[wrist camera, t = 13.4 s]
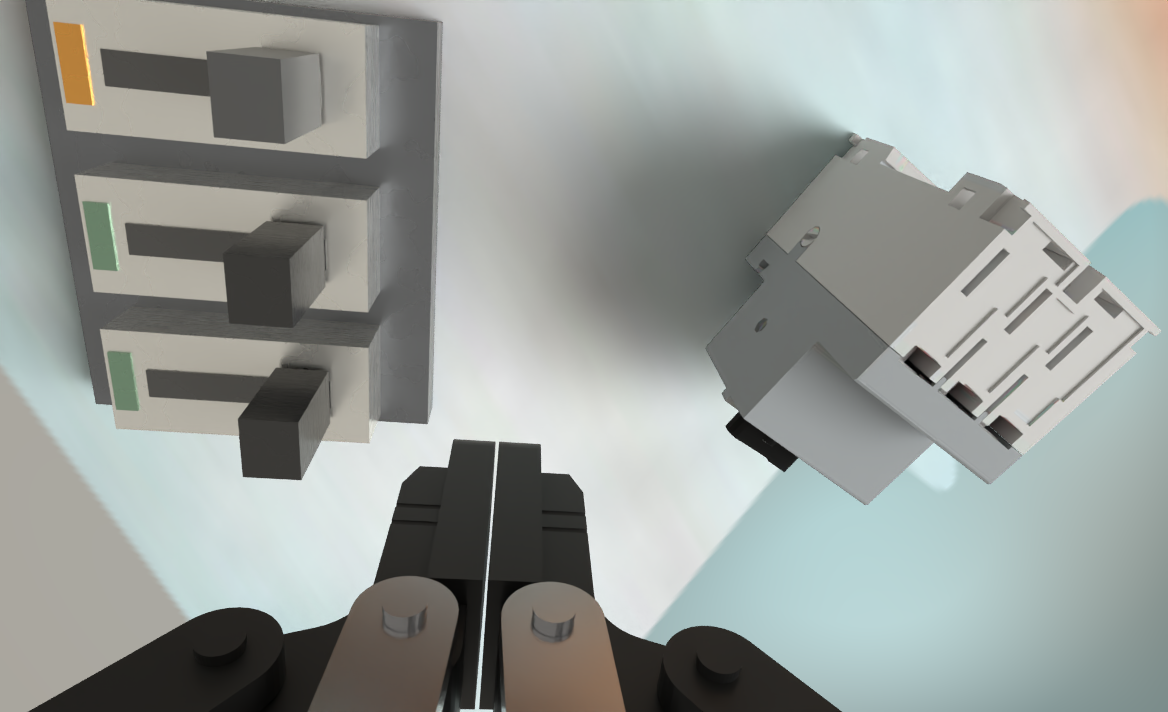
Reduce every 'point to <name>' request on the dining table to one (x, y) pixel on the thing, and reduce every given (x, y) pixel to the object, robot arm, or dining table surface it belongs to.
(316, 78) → the block
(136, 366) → the breaker panel
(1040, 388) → the circuit breaker
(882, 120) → the dining table surface
